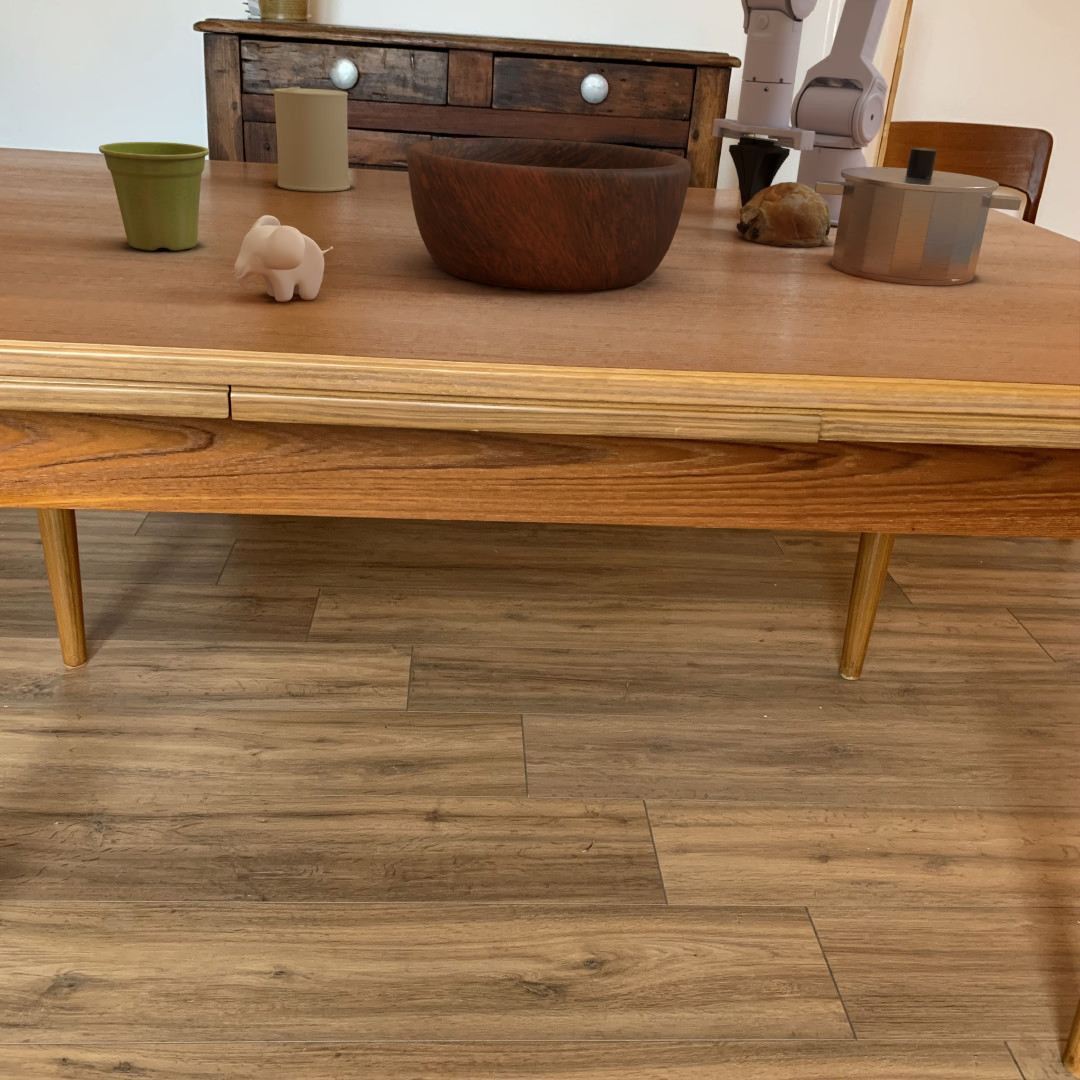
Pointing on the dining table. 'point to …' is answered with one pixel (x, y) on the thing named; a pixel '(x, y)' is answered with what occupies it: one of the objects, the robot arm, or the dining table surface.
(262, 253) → the elephant figurine
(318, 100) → the can
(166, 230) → the plant pot
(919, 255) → the pot
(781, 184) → the bread roll
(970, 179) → the pot lid
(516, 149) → the wooden bowl
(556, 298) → the dining table surface
